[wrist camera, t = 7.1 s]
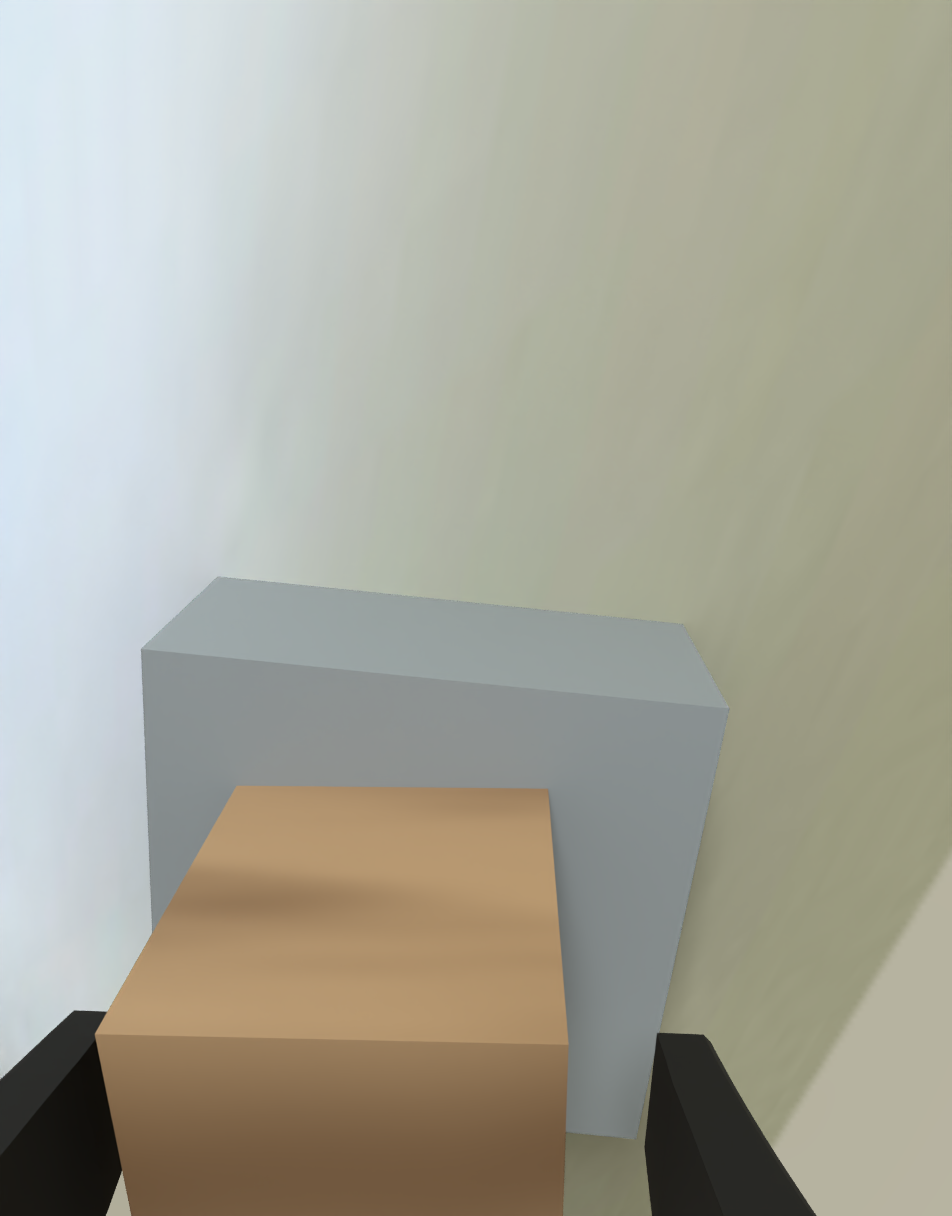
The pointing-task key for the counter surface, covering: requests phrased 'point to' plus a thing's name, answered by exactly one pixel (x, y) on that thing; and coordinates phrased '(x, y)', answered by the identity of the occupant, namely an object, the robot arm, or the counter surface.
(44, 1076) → the robot arm
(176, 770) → the slate block
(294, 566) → the counter surface
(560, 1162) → the walnut cube
